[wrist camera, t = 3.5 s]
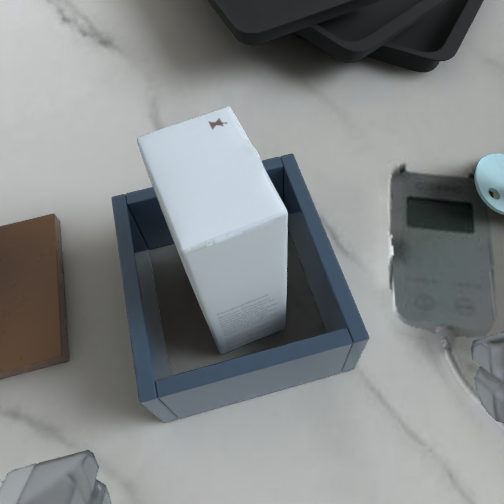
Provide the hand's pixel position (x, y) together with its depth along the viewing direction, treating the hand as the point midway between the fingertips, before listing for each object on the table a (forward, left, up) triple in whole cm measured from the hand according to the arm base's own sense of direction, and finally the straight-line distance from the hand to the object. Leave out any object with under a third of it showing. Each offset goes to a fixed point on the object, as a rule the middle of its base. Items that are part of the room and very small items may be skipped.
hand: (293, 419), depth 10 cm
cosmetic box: (0, +10, -15) cm, 18 cm away
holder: (0, +10, -15) cm, 18 cm away
